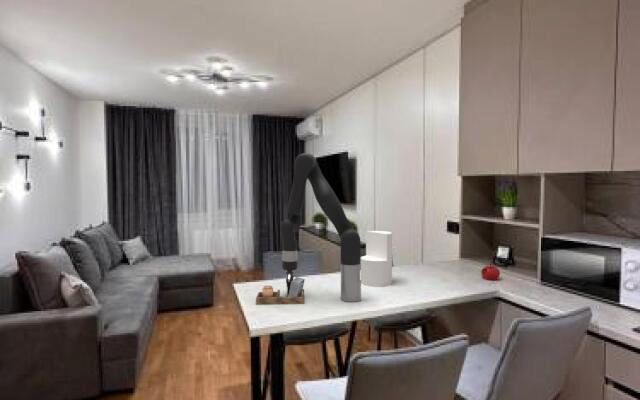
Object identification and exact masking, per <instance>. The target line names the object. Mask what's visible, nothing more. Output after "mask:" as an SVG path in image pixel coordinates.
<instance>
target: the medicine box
mask: <svg viewBox="0 0 640 400" xmlns="http://www.w3.org/2000/svg"><path fill="white" fill-rule="evenodd" d="M305 281H306V280H305V279H304V278H303V277H299V276H296V277H295V278H293V281H291V285H290V290H289V295H288V296H287V297H302V292H303V289H304V285H305Z"/></svg>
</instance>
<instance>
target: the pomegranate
mask: <svg viewBox="0 0 640 400" xmlns="http://www.w3.org/2000/svg"><path fill="white" fill-rule="evenodd" d="M480 274H481V277H482V278H483V279H485V280H486V281H487V280H488V281H497V280H498V279H499V278H500V275H501V271H500V269H499V267H497V266H496V265H495V264H494V265H492V262H490V263H489V265H488V264H486V265H484V266H483V268H482V269H481V271H480Z"/></svg>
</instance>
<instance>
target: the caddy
mask: <svg viewBox="0 0 640 400" xmlns="http://www.w3.org/2000/svg"><path fill="white" fill-rule="evenodd" d="M280 291H281V290H280V289H277V291H273V297H263V295H262V291H259V292H257V295H256V297H255V305H256V306H258V305H259V306H261V305H265V306H266V305H268V306H269V305H304V304H305V288H303V290H302V295H301V296H300V297H288V296H281V293H280Z"/></svg>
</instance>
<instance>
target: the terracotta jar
mask: <svg viewBox="0 0 640 400" xmlns="http://www.w3.org/2000/svg"><path fill="white" fill-rule="evenodd" d="M261 292H262V295H263V297H273V292H274V287H273V286H272V285H264V286H263V287H262V291H261Z"/></svg>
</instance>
